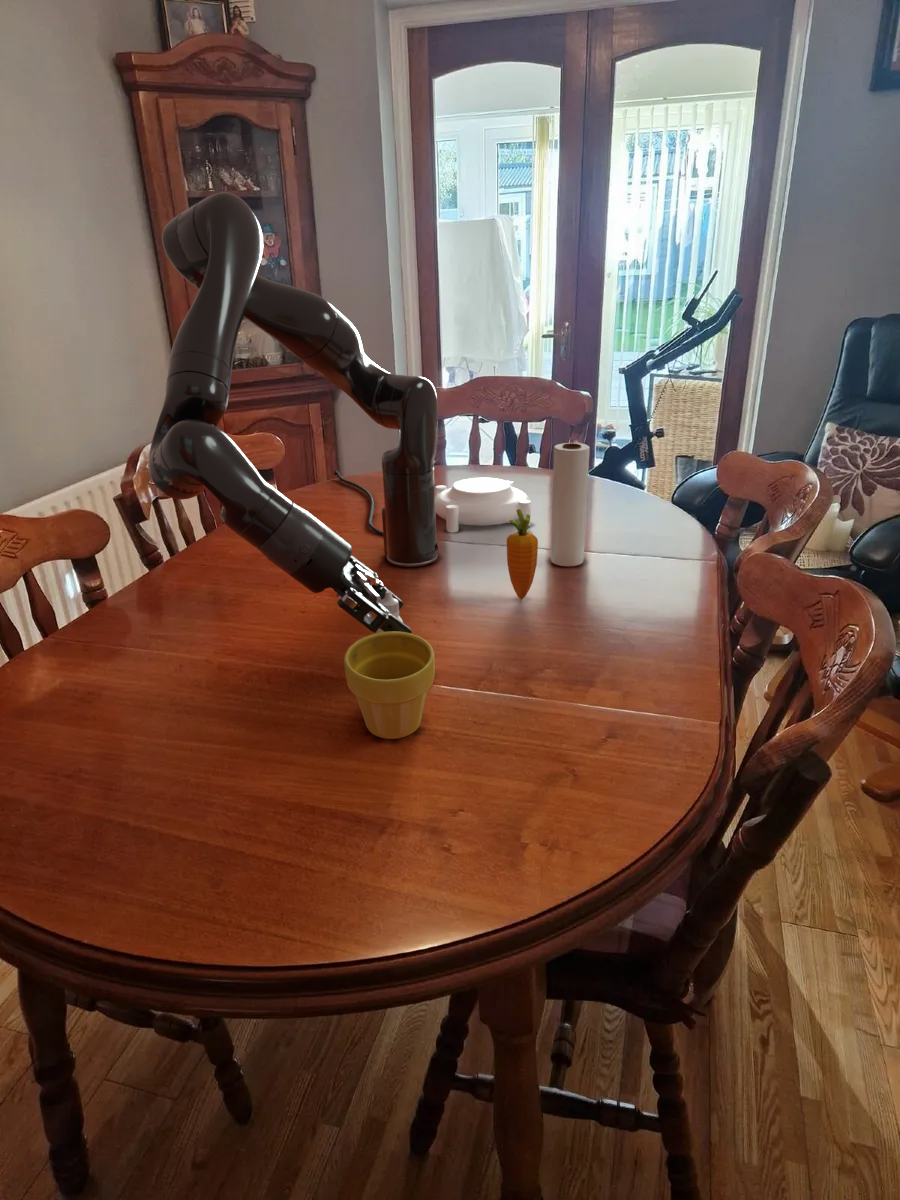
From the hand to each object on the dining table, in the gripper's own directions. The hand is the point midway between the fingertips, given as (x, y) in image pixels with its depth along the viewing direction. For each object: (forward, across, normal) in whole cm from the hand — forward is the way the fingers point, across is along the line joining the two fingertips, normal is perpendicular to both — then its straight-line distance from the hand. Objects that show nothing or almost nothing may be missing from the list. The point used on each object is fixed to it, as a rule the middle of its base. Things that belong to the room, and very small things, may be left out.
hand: (402, 622), depth 98 cm
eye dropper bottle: (+4, 0, -7) cm, 8 cm away
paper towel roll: (+30, -36, +18) cm, 50 cm away
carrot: (+21, -21, +9) cm, 31 cm away
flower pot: (+4, +11, -8) cm, 14 cm away
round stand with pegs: (+23, -65, +11) cm, 70 cm away
